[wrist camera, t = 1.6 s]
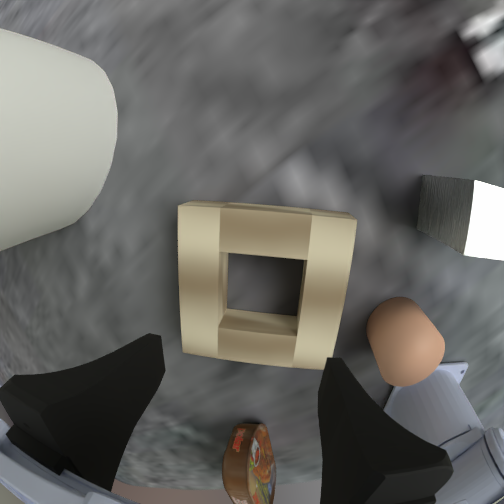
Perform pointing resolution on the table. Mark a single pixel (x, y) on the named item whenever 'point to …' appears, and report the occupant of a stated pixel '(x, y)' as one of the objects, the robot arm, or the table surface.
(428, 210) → the square peg
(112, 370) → the robot arm
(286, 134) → the table surface
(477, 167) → the table surface
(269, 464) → the tin
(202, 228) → the bore block
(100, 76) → the cylinder
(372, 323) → the round peg
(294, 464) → the table surface
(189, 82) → the table surface
